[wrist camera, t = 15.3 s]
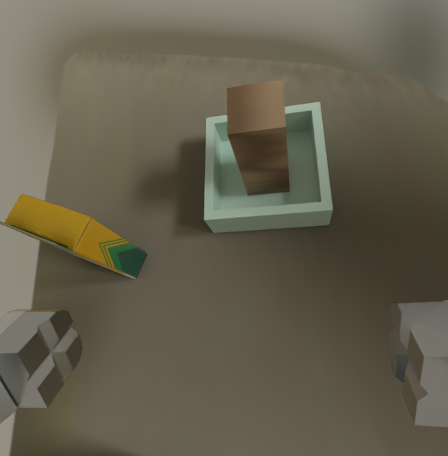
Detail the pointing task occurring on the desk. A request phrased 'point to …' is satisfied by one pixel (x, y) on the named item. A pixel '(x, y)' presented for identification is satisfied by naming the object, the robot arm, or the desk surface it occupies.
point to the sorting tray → (276, 202)
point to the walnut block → (259, 136)
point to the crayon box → (75, 235)
